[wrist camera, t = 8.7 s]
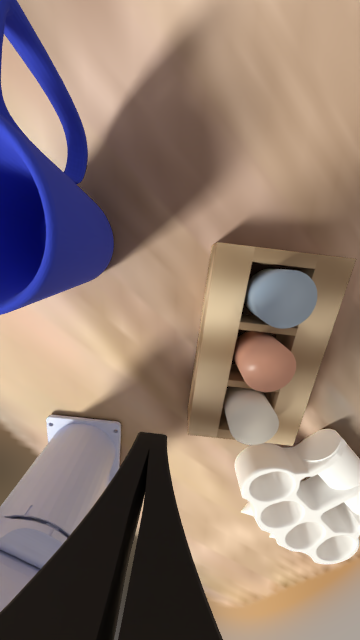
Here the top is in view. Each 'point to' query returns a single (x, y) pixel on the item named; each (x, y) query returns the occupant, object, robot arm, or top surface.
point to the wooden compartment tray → (226, 318)
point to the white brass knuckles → (305, 494)
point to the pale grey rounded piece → (249, 415)
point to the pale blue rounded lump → (281, 297)
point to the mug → (44, 191)
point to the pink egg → (263, 361)
